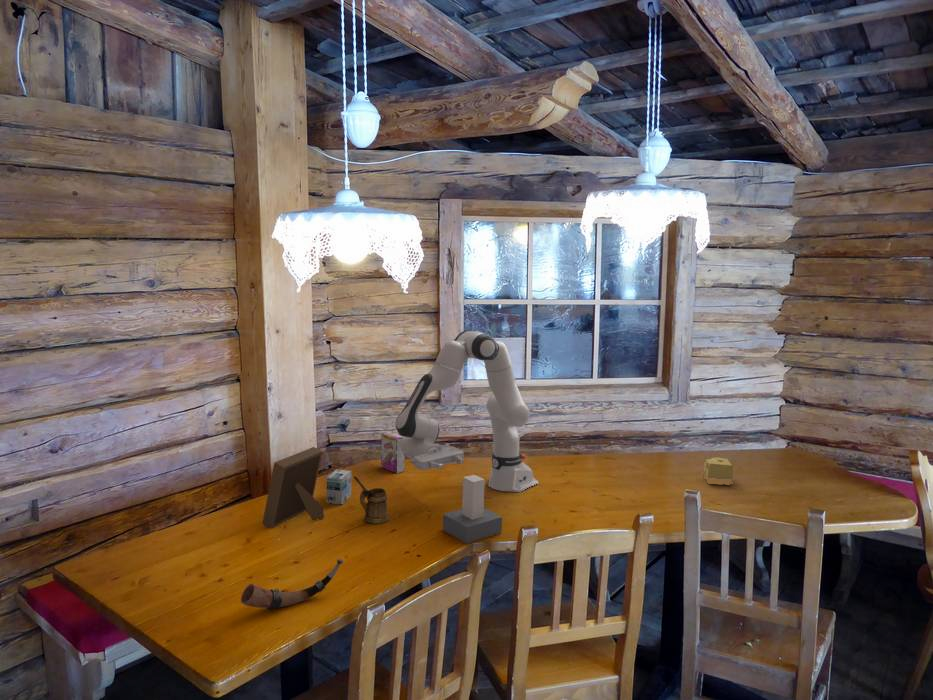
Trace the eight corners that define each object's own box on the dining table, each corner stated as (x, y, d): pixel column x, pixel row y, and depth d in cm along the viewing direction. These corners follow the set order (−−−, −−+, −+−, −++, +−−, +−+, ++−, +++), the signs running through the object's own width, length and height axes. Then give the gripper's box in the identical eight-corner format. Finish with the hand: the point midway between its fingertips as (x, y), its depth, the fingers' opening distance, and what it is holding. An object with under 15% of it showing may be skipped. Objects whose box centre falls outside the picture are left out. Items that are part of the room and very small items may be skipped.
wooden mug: (350, 518, 260) (350, 472, 257) (384, 513, 266) (385, 468, 263) (356, 527, 252) (356, 480, 249) (392, 522, 258) (392, 475, 255)
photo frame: (262, 526, 251) (261, 459, 247) (301, 506, 270) (301, 444, 266) (294, 535, 244) (295, 467, 240) (332, 514, 264) (333, 451, 260)
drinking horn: (238, 613, 193) (238, 579, 192) (338, 585, 210) (338, 554, 208) (245, 622, 189) (244, 588, 187) (346, 593, 205) (346, 561, 204)
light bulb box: (342, 505, 272) (342, 479, 271) (325, 503, 274) (325, 477, 272) (351, 495, 283) (351, 470, 281) (336, 494, 284) (336, 468, 282)
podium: (477, 519, 262) (477, 504, 261) (501, 532, 251) (502, 517, 250) (442, 529, 252) (443, 514, 251) (466, 543, 241) (467, 527, 241)
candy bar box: (380, 468, 318) (380, 433, 315) (388, 465, 321) (389, 431, 319) (396, 474, 310) (396, 438, 307) (404, 471, 314) (405, 436, 311)
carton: (472, 511, 255) (474, 474, 253) (483, 516, 250) (484, 479, 248) (462, 514, 252) (463, 477, 249) (472, 519, 247) (473, 482, 245)
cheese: (702, 477, 318) (704, 456, 317) (726, 479, 317) (728, 457, 315) (706, 485, 308) (708, 463, 306) (732, 487, 307) (734, 465, 305)
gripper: (407, 452, 263) (428, 461, 253) (450, 442, 276) (472, 451, 265) (407, 468, 264) (428, 478, 254) (450, 457, 277) (472, 467, 266)
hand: (451, 464), depth 259 cm, fingers open, 8 cm apart
